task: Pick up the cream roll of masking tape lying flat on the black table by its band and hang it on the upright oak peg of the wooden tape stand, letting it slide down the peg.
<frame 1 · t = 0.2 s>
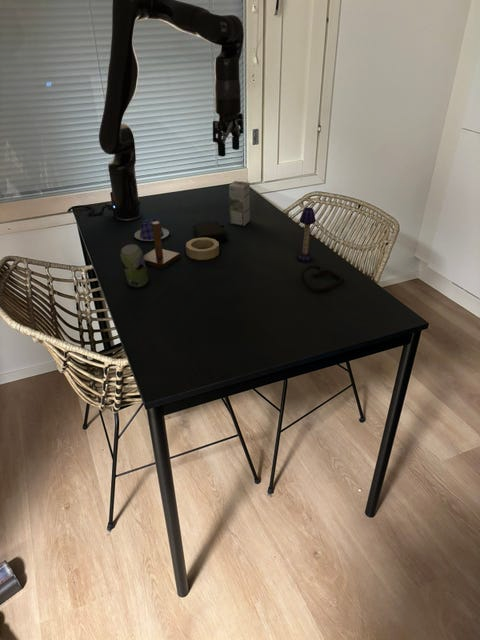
hand: (228, 152, 153), 29 cm above the table, tool pointing down, fingers open, 8 cm apart
carrying case: (211, 235, 172), on the table
peg stand: (159, 260, 156), on the table
purple spotted mushroom: (304, 260, 156), on the table
tape roll: (202, 252, 160), on the table
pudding: (152, 236, 172), on the table
syrup box: (239, 223, 182), on the table
metal loop: (320, 283, 143), on the table
beverage can: (137, 285, 143), on the table
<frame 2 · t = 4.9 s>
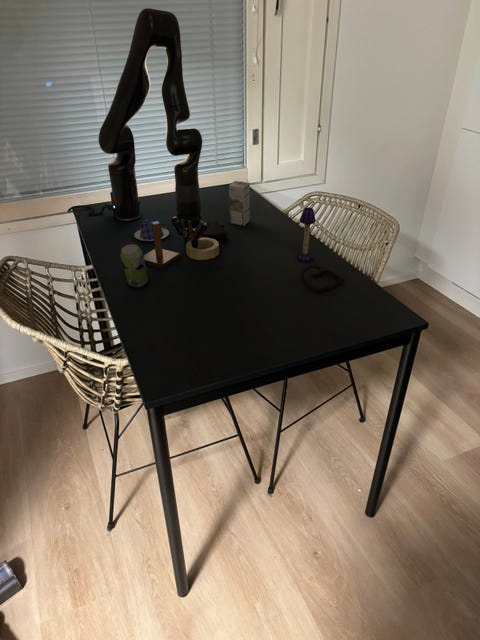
hand: (191, 248, 162), 1 cm above the table, tool pointing down, fingers closed on tape roll
tape roll: (202, 252, 160), on the table, touching gripper
everything else where it was.
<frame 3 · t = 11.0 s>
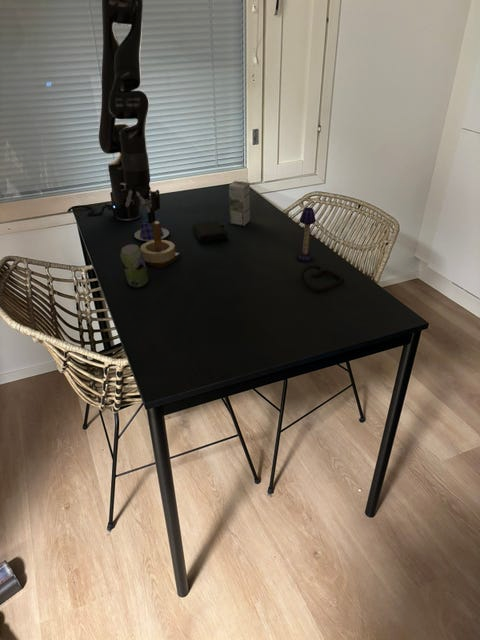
hand: (141, 220, 152), 12 cm above the table, tool pointing down, fingers open, 7 cm apart
tape roll: (158, 255, 156), point 1 cm above the table, touching peg stand
everything else where it was.
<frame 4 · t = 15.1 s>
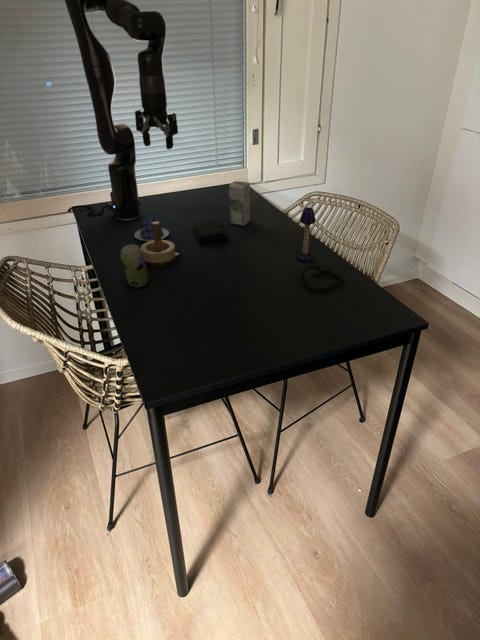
hand: (158, 147, 155), 30 cm above the table, tool pointing down, fingers open, 8 cm apart
nothing on the table moved.
at the end: tape roll 0.4 cm off-centre on the peg stand, point 1.5 cm above the peg stand's base; the gripper is holding nothing; tape roll tilted 0° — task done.
